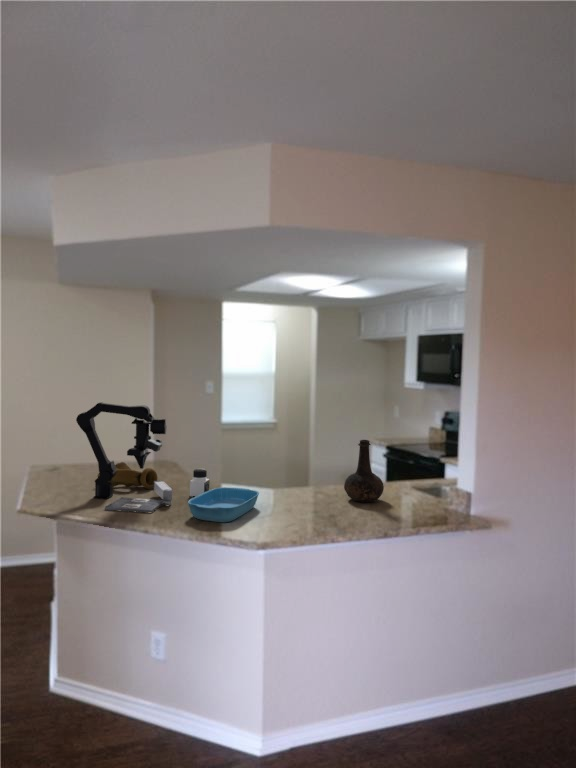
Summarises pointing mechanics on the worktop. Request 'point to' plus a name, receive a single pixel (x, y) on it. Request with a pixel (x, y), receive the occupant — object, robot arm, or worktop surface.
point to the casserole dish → (223, 503)
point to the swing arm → (163, 490)
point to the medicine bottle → (199, 482)
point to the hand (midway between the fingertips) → (141, 468)
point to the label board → (136, 504)
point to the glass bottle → (364, 478)
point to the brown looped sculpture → (133, 477)
